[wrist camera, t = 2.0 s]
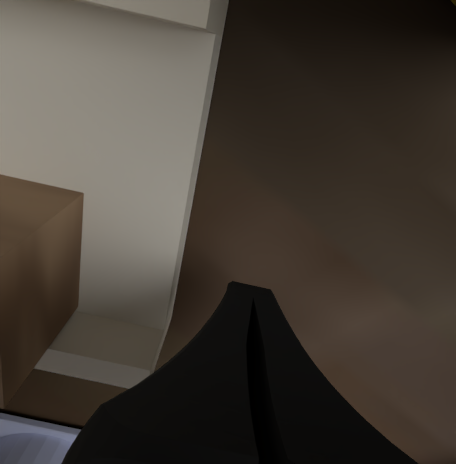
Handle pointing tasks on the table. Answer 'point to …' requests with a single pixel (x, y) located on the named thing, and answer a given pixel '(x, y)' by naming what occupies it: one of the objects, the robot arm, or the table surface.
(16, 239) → the block
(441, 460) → the table surface
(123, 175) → the trap lane
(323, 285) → the table surface
